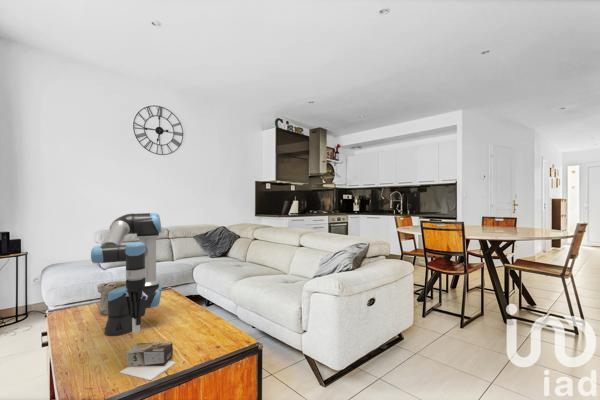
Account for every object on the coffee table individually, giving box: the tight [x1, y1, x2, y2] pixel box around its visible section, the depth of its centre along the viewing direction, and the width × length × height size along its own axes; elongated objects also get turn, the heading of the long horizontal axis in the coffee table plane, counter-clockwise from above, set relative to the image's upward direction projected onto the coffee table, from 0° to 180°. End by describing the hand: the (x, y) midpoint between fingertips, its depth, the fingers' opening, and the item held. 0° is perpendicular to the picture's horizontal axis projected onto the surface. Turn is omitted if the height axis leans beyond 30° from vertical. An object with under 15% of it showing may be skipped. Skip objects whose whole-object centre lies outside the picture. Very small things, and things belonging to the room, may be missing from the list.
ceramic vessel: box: [96, 280, 126, 316], centre depth 198 cm, size 23×24×25 cm
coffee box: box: [126, 342, 174, 367], centre depth 134 cm, size 9×6×16 cm
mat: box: [119, 360, 177, 382], centre depth 129 cm, size 17×14×1 cm
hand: (136, 331), depth 132 cm, fingers closed
